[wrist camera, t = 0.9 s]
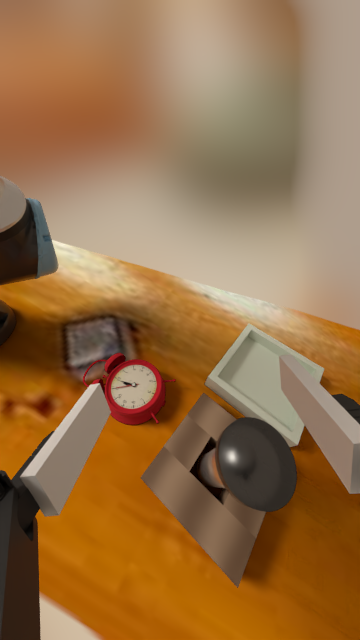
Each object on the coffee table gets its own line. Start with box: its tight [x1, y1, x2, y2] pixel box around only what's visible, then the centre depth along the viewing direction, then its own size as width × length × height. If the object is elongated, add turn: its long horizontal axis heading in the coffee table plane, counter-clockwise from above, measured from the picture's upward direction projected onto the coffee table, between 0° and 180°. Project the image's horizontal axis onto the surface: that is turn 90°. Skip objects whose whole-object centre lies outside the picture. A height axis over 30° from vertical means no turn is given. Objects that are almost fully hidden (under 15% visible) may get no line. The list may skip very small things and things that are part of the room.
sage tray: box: [205, 324, 324, 447], centre depth 38 cm, size 16×16×4 cm
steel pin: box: [197, 417, 297, 512], centre depth 23 cm, size 6×6×18 cm
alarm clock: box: [83, 353, 175, 425], centre depth 34 cm, size 10×6×15 cm
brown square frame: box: [141, 393, 266, 588], centre depth 28 cm, size 14×14×4 cm
